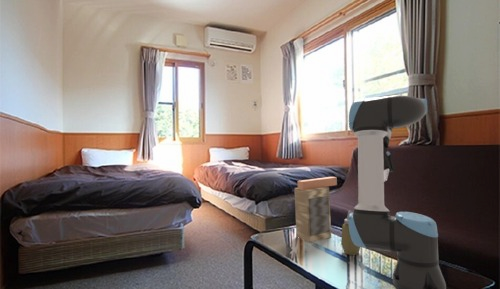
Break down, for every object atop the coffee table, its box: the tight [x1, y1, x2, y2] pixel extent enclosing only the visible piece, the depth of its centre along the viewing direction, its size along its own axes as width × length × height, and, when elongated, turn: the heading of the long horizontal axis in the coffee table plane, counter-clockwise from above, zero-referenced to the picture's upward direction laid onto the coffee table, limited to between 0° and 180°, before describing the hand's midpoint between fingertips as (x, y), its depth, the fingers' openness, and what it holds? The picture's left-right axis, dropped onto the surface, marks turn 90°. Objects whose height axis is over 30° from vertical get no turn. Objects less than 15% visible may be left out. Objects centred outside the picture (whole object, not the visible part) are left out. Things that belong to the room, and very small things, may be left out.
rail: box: [297, 176, 338, 190], centre depth 148 cm, size 22×4×4 cm, turn 116°
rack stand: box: [293, 186, 332, 244], centre depth 146 cm, size 14×10×25 cm
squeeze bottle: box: [340, 210, 361, 256], centre depth 125 cm, size 8×8×18 cm
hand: (372, 173), depth 133 cm, fingers open, 13 cm apart
